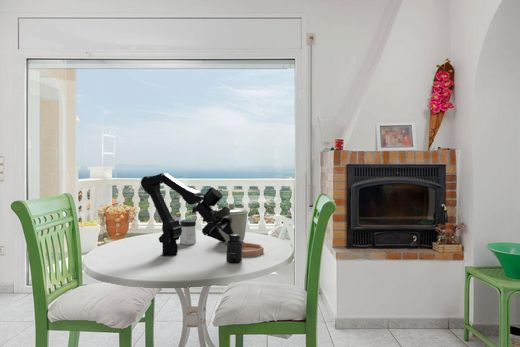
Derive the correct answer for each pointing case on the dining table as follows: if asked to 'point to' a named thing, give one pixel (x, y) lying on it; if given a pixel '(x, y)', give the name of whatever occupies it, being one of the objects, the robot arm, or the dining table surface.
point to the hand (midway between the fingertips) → (230, 239)
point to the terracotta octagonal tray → (251, 249)
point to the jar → (188, 232)
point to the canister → (236, 221)
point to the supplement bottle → (234, 249)
